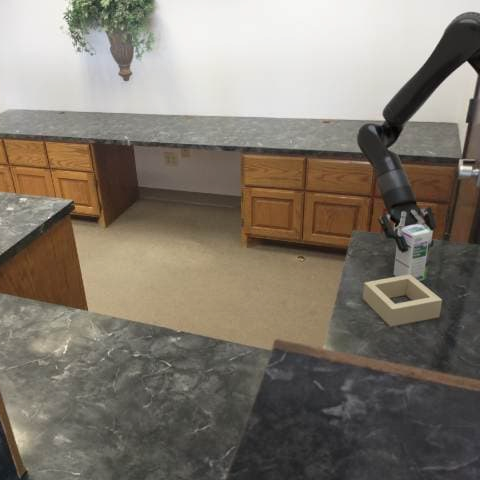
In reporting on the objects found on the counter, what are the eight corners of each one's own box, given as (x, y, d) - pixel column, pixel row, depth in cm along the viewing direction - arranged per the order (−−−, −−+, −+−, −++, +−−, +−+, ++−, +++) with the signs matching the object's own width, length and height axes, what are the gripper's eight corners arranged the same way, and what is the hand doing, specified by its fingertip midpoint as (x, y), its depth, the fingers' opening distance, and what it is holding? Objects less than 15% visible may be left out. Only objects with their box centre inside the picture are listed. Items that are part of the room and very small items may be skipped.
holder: (362, 298, 132) (364, 282, 129) (407, 290, 133) (410, 274, 131) (390, 326, 120) (392, 309, 118) (439, 317, 122) (442, 299, 119)
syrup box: (407, 285, 132) (414, 235, 126) (392, 274, 137) (398, 226, 131) (426, 280, 133) (434, 230, 127) (410, 269, 138) (417, 221, 132)
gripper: (376, 188, 131) (398, 249, 125) (428, 180, 132) (452, 240, 127) (364, 200, 138) (384, 258, 132) (413, 192, 139) (435, 249, 134)
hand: (417, 249), depth 130 cm, fingers closed on syrup box, 6 cm apart
